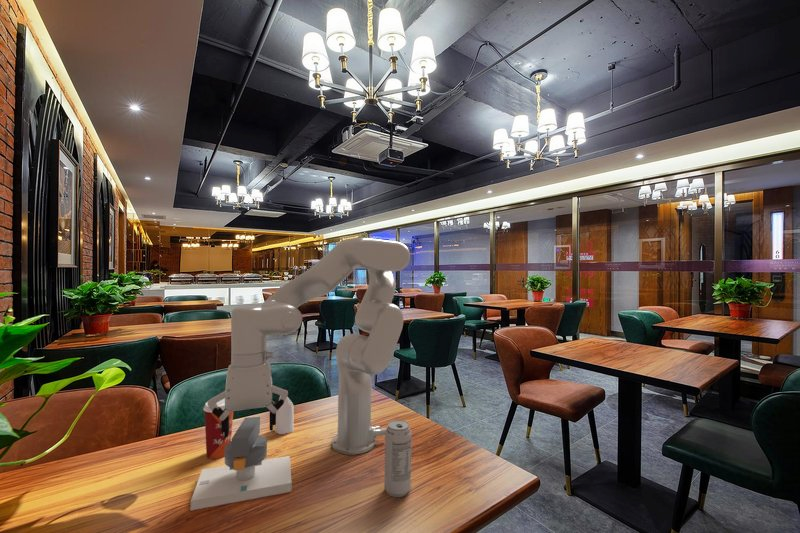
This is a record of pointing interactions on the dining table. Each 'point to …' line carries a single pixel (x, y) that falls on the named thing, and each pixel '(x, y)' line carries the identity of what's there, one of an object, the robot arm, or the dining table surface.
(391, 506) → the dining table surface
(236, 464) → the lock knob
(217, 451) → the paper cup
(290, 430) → the white pointed block
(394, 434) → the energy drink can
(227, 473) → the base
